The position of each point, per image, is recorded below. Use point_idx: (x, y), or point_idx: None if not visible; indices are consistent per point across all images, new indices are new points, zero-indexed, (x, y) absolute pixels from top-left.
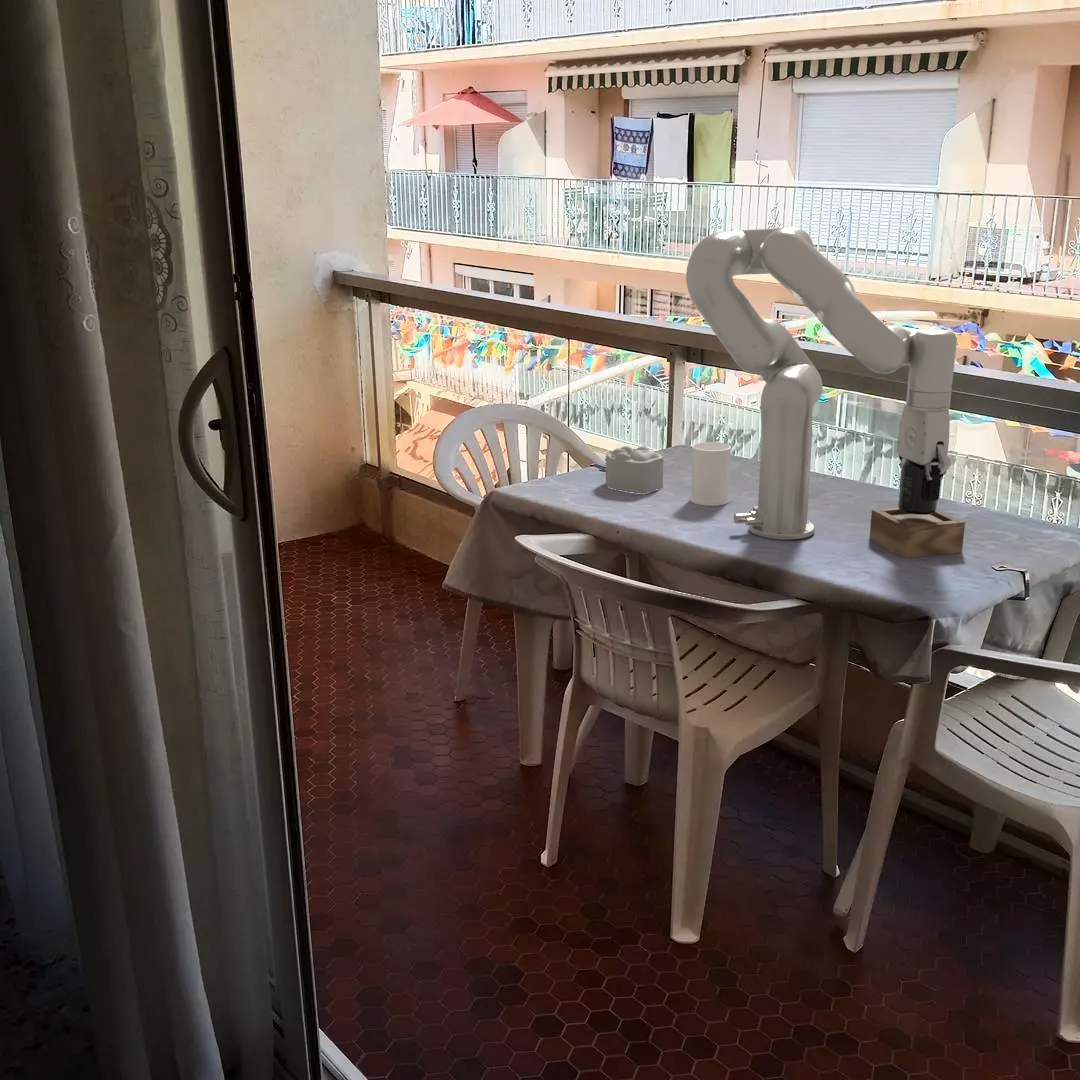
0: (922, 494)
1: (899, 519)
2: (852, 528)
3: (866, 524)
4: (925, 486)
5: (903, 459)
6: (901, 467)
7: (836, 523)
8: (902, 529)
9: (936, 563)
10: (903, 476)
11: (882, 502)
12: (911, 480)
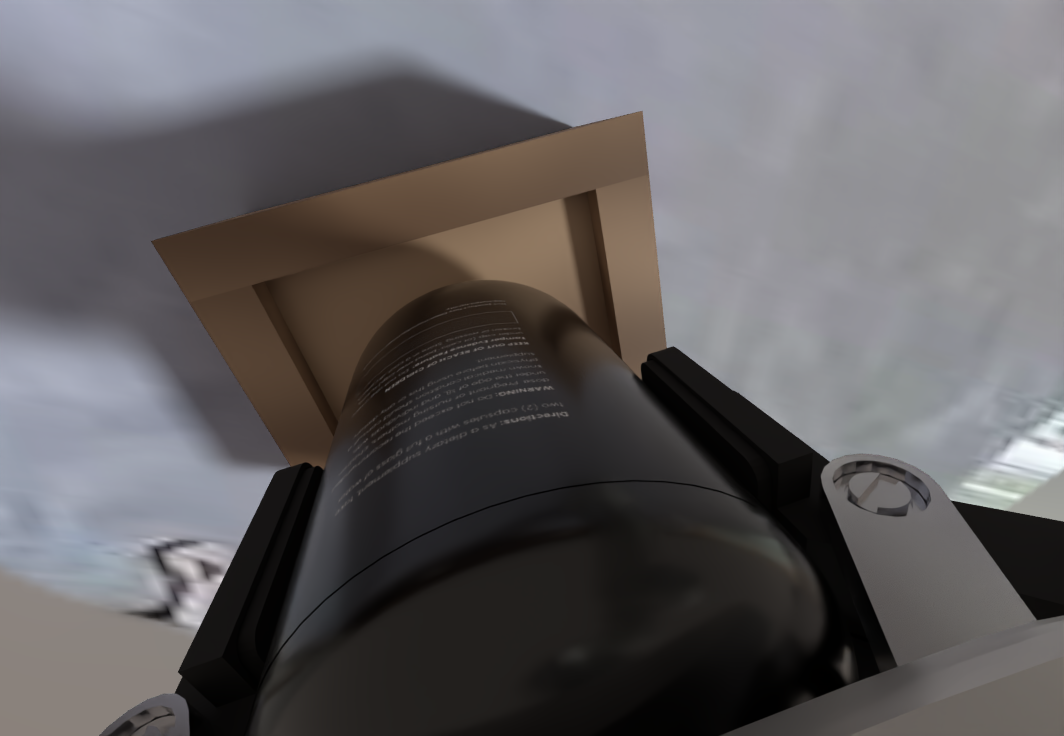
0: (285, 496)
1: (482, 272)
2: (742, 86)
3: (778, 184)
4: (224, 591)
5: (952, 588)
6: (859, 468)
7: (835, 18)
8: (212, 224)
9: (193, 355)
10: (500, 420)
11: (984, 330)
12: (342, 490)
